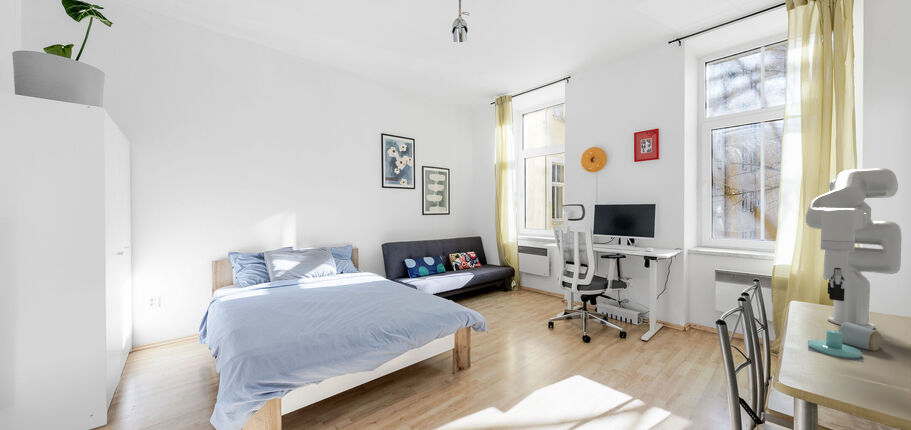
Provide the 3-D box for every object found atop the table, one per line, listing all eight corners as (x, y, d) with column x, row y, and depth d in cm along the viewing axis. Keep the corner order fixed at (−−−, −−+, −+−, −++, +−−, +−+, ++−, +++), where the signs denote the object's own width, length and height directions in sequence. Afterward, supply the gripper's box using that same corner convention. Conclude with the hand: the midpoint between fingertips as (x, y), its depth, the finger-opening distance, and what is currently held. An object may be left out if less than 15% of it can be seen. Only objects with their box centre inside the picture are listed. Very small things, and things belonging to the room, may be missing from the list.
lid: (807, 340, 122) (808, 323, 122) (859, 350, 114) (860, 332, 114) (808, 350, 114) (808, 332, 114) (863, 362, 105) (864, 342, 105)
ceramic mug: (871, 354, 112) (872, 330, 112) (836, 344, 120) (837, 322, 119) (887, 349, 116) (888, 327, 116) (852, 340, 123) (853, 319, 123)
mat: (807, 341, 122) (807, 340, 122) (859, 351, 114) (859, 350, 114) (808, 351, 114) (808, 350, 114) (863, 363, 105) (863, 362, 105)
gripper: (819, 243, 122) (818, 290, 122) (821, 247, 109) (820, 300, 110) (851, 244, 116) (850, 294, 117) (857, 249, 104) (855, 305, 105)
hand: (835, 297), depth 113 cm, fingers open, 9 cm apart
